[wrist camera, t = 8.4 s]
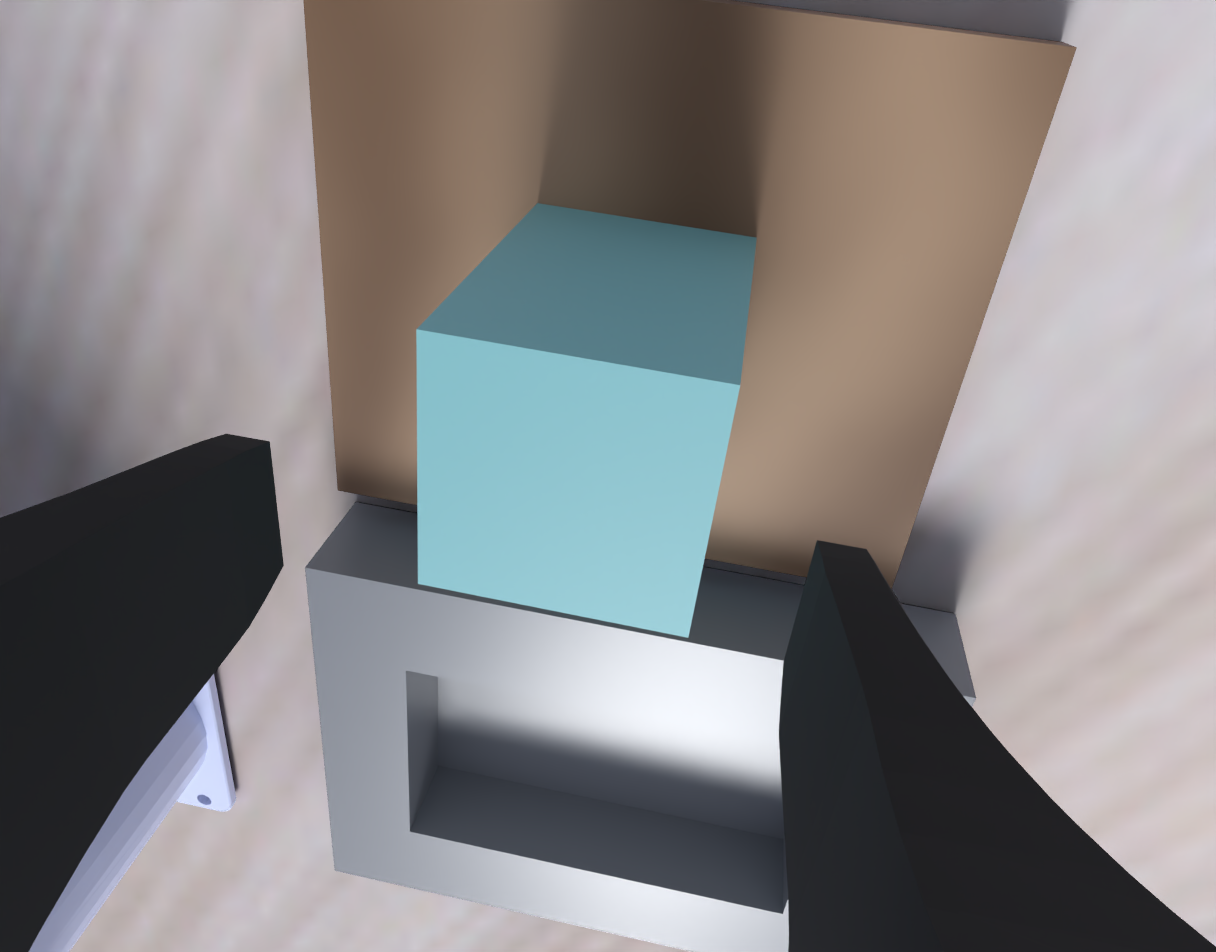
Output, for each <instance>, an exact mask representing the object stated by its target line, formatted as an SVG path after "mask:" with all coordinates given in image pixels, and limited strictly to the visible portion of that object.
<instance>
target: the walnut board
mask: <svg viewBox="0 0 1216 952" xmlns="http://www.w3.org/2000/svg"><path fill="white" fill-rule="evenodd" d="M304 14H305V28H306V43H307V57H308V71H309V86H310V100H311V114H312V128H313V143H314V157H315V171H316V186H317V200H318V214H319V229H320V243H321V257H322V271H323V286H324V300H325V314H326V329H327V343H328V357H329V372H330V386H331V400H332V415H333V429H334V443H335V457H336V472H337V486H338V491H344V492H349V493H354V494H360V495H365V496H371V497H376V498H381V499H387V500H392V501H398V502H403V503H408V504H414V505H417V345H416V329H417V328H418V327H419V326H420V325H421V324H422V323H423V322H424V321H425V320H426V319H427V318H428V317H429V316H430V315H431V314H432V313H433V311H434V310H435V309H436V308H437V307H438V306H439V305H440V304H441V303H442V302H443V301H444V300H445V299H446V298H447V297H448V296H449V295H450V294H451V293H452V292H453V291H454V290H455V289H456V287H457V286H458V285H459V284H460V283H461V282H462V281H463V280H464V279H465V278H466V277H467V276H468V275H469V274H470V273H471V272H472V271H473V270H474V269H475V268H476V267H477V266H478V265H479V263H480V262H481V261H482V260H483V259H484V258H485V257H486V256H487V255H488V254H489V253H490V252H491V251H492V250H493V249H494V248H495V247H496V246H497V245H498V244H499V243H500V242H501V241H502V239H503V238H504V237H505V236H506V235H507V234H508V233H509V232H510V231H511V230H512V229H513V228H514V227H515V226H516V225H517V224H518V223H519V222H520V221H521V220H522V219H523V218H524V217H525V215H526V214H527V213H528V212H529V211H530V210H531V209H532V208H533V207H534V206H535V205H536V204H537V203H540V204H546V205H552V206H559V207H565V208H571V209H578V210H584V211H591V212H597V213H603V214H610V215H616V216H622V217H629V218H635V219H641V220H648V221H654V222H660V223H667V224H673V225H679V226H686V227H692V228H698V229H705V230H711V231H717V232H724V233H730V234H736V235H743V236H749V237H756V238H757V240H756V249H755V258H754V267H753V276H752V285H751V294H750V303H749V312H748V321H747V330H746V339H745V347H744V356H743V365H742V374H741V383H740V389H739V394H738V399H737V404H736V408H735V413H734V418H733V423H732V428H731V433H730V438H729V442H728V447H727V452H726V457H725V462H724V467H723V472H722V476H721V481H720V486H719V491H718V496H717V501H716V506H715V510H714V515H713V520H712V525H711V530H710V535H709V540H708V544H707V549H706V554H705V559H710V560H716V561H721V562H727V563H732V564H737V565H743V566H748V567H754V568H759V569H764V570H770V571H775V572H781V573H786V574H791V575H797V576H802V577H807V575H808V571H809V567H810V564H811V560H812V556H813V553H814V549H815V546H816V542H817V540H819V541H825V542H830V543H836V544H842V545H847V546H853V547H858V548H864V549H867V551H868V552H869V553H870V555H871V556H872V558H873V560H874V561H875V563H876V564H877V566H878V568H879V569H880V571H881V573H882V574H883V576H884V578H885V579H886V581H887V583H888V584H889V586H890V588H891V589H892V586H893V583H894V580H895V577H896V574H897V571H898V568H899V566H900V563H901V560H902V557H903V554H904V551H905V548H906V545H907V542H908V539H909V536H910V533H911V530H912V528H913V525H914V522H915V519H916V516H917V513H918V510H919V507H920V504H921V501H922V498H923V495H924V492H925V490H926V487H927V484H928V481H929V478H930V475H931V472H932V469H933V466H934V463H935V460H936V457H937V454H938V451H939V449H940V446H941V443H942V440H943V437H944V434H945V431H946V428H947V425H948V422H949V419H950V416H951V413H952V411H953V408H954V405H955V402H956V399H957V396H958V393H959V390H960V387H961V384H962V381H963V378H964V375H965V373H966V370H967V367H968V364H969V361H970V358H971V355H972V352H973V349H974V346H975V343H976V340H977V337H978V335H979V332H980V329H981V326H982V323H983V320H984V317H985V314H986V311H987V308H988V305H989V302H990V299H991V297H992V294H993V291H994V288H995V285H996V282H997V279H998V276H999V273H1000V270H1001V267H1002V264H1003V261H1004V259H1005V256H1006V253H1007V250H1008V247H1009V244H1010V241H1011V238H1012V235H1013V232H1014V229H1015V226H1016V223H1017V221H1018V218H1019V215H1020V212H1021V209H1022V206H1023V203H1024V200H1025V197H1026V194H1027V191H1028V188H1029V185H1030V182H1031V180H1032V177H1033V174H1034V171H1035V168H1036V165H1037V162H1038V159H1039V156H1040V153H1041V150H1042V147H1043V144H1044V142H1045V139H1046V136H1047V133H1048V130H1049V127H1050V124H1051V121H1052V118H1053V115H1054V112H1055V109H1056V106H1057V104H1058V101H1059V98H1060V95H1061V92H1062V89H1063V86H1064V83H1065V80H1066V77H1067V74H1068V71H1069V68H1070V66H1071V63H1072V60H1073V57H1074V54H1075V51H1076V48H1077V47H1074V46H1071V45H1069V44H1066V43H1063V42H1059V41H1051V40H1043V39H1035V38H1027V37H1019V36H1011V35H1003V34H995V33H987V32H979V31H971V30H963V29H955V28H947V27H940V26H932V25H924V24H916V23H908V22H900V21H892V20H884V19H876V18H868V17H860V16H852V15H844V14H836V13H828V12H820V11H812V10H804V9H796V8H788V7H780V6H772V5H764V4H756V3H748V2H740V1H732V0H304Z"/></svg>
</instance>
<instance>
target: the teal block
mask: <svg viewBox="0 0 1216 952" xmlns="http://www.w3.org/2000/svg"><path fill="white" fill-rule="evenodd" d="M756 240H757V238H756V237H749V236H743V235H736V234H730V233H724V232H717V231H711V230H705V229H698V228H692V227H686V226H679V225H673V224H667V223H660V222H654V221H648V220H641V219H635V218H629V217H622V216H616V215H610V214H603V213H597V212H591V211H584V210H578V209H571V208H565V207H559V206H552V205H546V204H540V203H537V204H536V205H535V206H534V207H533V208H532V209H531V210H530V211H529V212H528V213H527V214H526V215H525V217H524V218H523V219H522V220H521V221H520V222H519V223H518V224H517V225H516V226H515V227H514V228H513V229H512V230H511V231H510V232H509V233H508V234H507V235H506V236H505V237H504V238H503V239H502V241H501V242H500V243H499V244H498V245H497V246H496V247H495V248H494V249H493V250H492V251H491V252H490V253H489V254H488V255H487V256H486V257H485V258H484V259H483V260H482V261H481V262H480V263H479V265H478V266H477V267H476V268H475V269H474V270H473V271H472V272H471V273H470V274H469V275H468V276H467V277H466V278H465V279H464V280H463V281H462V282H461V283H460V284H459V285H458V286H457V287H456V289H455V290H454V291H453V292H452V293H451V294H450V295H449V296H448V297H447V298H446V299H445V300H444V301H443V302H442V303H441V304H440V305H439V306H438V307H437V308H436V309H435V310H434V311H433V313H432V314H431V315H430V316H429V317H428V318H427V319H426V320H425V321H424V322H423V323H422V324H421V325H420V326H419V327H418V328H417V329H416V345H417V512H418V584H421V585H426V586H431V587H436V588H441V589H446V590H451V591H456V592H461V593H466V594H471V595H476V596H481V597H486V598H491V599H496V600H502V601H507V602H512V603H517V604H522V605H527V606H532V607H537V608H542V609H547V610H552V611H557V612H562V613H567V614H572V615H577V616H582V617H587V618H592V619H597V620H602V621H607V622H612V623H617V624H622V625H627V626H632V627H637V628H642V629H647V630H652V631H657V632H662V633H667V634H672V635H677V636H682V637H687V638H688V637H689V632H690V627H691V622H692V617H693V612H694V608H695V603H696V598H697V593H698V588H699V583H700V578H701V574H702V569H703V564H704V559H705V554H706V549H707V544H708V540H709V535H710V530H711V525H712V520H713V515H714V510H715V506H716V501H717V496H718V491H719V486H720V481H721V476H722V472H723V467H724V462H725V457H726V452H727V447H728V442H729V438H730V433H731V428H732V423H733V418H734V413H735V408H736V404H737V399H738V394H739V389H740V383H741V374H742V365H743V356H744V347H745V339H746V330H747V321H748V312H749V303H750V294H751V285H752V276H753V267H754V258H755V249H756Z"/></svg>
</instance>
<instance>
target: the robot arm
mask: <svg viewBox="0 0 1216 952" xmlns="http://www.w3.org/2000/svg"><path fill="white" fill-rule="evenodd" d="M283 566H284V565H283V556H282V547H281V538H280V529H279V521H278V512H277V503H276V494H275V485H274V476H273V467H272V458H271V449H270V442H269V441H263V440H258V439H252V438H247V437H241V436H236V435H230V434H224V435H221V436H217V437H214V438H210V439H207V440H204V441H201V442H199V443H196V444H193V445H190V446H188V447H185V448H182V449H180V450H177V451H174V452H172V453H169V454H167V455H164V456H162V457H159V458H156V459H154V460H151V461H149V462H146V463H144V464H141V465H139V466H136V467H134V468H131V469H129V470H126V471H124V472H121V473H119V474H116V475H114V476H111V477H109V478H106V479H104V480H101V481H99V482H96V483H94V484H91V485H89V486H86V487H84V488H81V489H78V490H76V491H73V492H71V493H68V494H65V495H63V496H60V497H57V498H54V499H52V500H49V501H46V502H43V503H41V504H38V505H35V506H32V507H29V508H27V509H24V510H21V511H18V512H16V513H13V514H10V515H7V516H4V517H2V518H0V952H70V950H71V949H72V947H73V946H74V945H75V943H76V942H77V940H78V939H79V938H80V936H81V935H82V933H83V932H84V931H85V929H86V928H87V926H88V925H89V924H90V922H91V921H92V919H93V918H94V916H95V915H96V914H97V912H98V911H99V909H100V908H101V907H102V905H103V904H104V902H105V901H106V900H107V898H108V897H109V895H110V894H111V893H112V891H113V890H114V888H115V887H116V886H117V884H118V883H119V881H120V880H121V879H122V877H123V876H124V874H125V873H126V872H127V870H128V869H129V867H130V866H131V865H132V863H133V862H134V860H135V859H136V858H137V856H138V855H139V853H140V852H141V850H142V849H143V848H144V846H145V845H146V843H147V842H148V841H149V839H150V838H151V836H152V835H153V834H154V832H155V831H156V829H157V828H158V827H159V825H160V824H161V822H162V821H163V820H164V818H165V817H166V815H167V814H168V813H169V811H170V810H171V808H172V807H173V806H174V804H175V803H176V802H181V803H185V804H190V805H194V806H199V807H203V808H208V809H212V810H217V811H228V810H230V809H231V808H232V806H233V805H234V803H235V801H236V794H235V788H234V783H233V777H232V772H231V766H230V761H229V755H228V749H227V744H226V738H225V733H224V727H223V722H222V716H221V710H220V705H219V699H218V694H217V688H216V683H215V677H214V673H215V671H216V670H217V669H218V667H219V666H220V665H221V663H222V662H223V661H224V659H225V658H226V657H227V656H228V654H229V653H230V652H231V650H232V649H233V648H234V646H235V645H236V644H237V642H238V641H239V640H240V638H241V637H242V636H243V634H244V633H245V632H246V630H247V629H248V628H249V626H250V624H251V623H252V621H253V619H254V618H255V616H256V614H257V613H258V611H259V609H260V607H261V606H262V604H263V602H264V601H265V599H266V597H267V595H268V593H269V592H270V590H271V588H272V586H273V584H274V582H275V580H276V579H277V577H278V575H279V573H280V571H281V569H282V567H283ZM779 748H780V767H781V785H782V802H783V819H784V835H785V852H786V869H787V885H788V912H789V947H788V952H1216V947H1215V946H1214V945H1213V944H1212V943H1210V942H1209V941H1208V940H1207V939H1206V938H1204V937H1203V936H1202V935H1201V934H1199V933H1198V932H1197V931H1196V930H1195V929H1193V928H1192V927H1191V926H1190V925H1188V924H1187V923H1186V922H1185V921H1184V920H1182V919H1181V918H1180V917H1179V916H1177V915H1176V914H1175V913H1174V912H1173V911H1171V910H1170V909H1169V908H1168V907H1167V906H1166V905H1164V904H1163V903H1162V902H1161V901H1160V900H1159V899H1158V898H1156V897H1155V896H1154V895H1153V894H1152V893H1151V892H1150V891H1148V890H1147V889H1146V888H1145V887H1144V886H1143V885H1142V884H1140V883H1139V882H1138V881H1137V880H1136V879H1135V878H1133V877H1132V876H1131V875H1130V874H1129V873H1128V872H1127V871H1126V870H1125V869H1124V868H1123V867H1122V866H1120V865H1119V864H1118V863H1117V862H1116V861H1115V860H1114V859H1113V858H1112V857H1111V856H1110V855H1109V854H1108V853H1107V852H1106V851H1105V850H1103V849H1102V848H1101V847H1100V846H1099V845H1098V844H1097V843H1096V842H1095V841H1094V840H1093V839H1092V838H1091V837H1090V836H1089V835H1088V834H1086V833H1085V832H1084V831H1083V830H1082V829H1081V828H1080V827H1079V826H1078V825H1077V824H1076V823H1075V822H1074V821H1073V820H1072V819H1071V818H1070V817H1069V816H1068V815H1067V814H1066V813H1065V812H1064V811H1063V810H1062V809H1061V808H1060V807H1059V806H1058V805H1057V804H1056V803H1055V802H1054V801H1053V800H1052V799H1051V798H1050V797H1049V796H1048V795H1047V794H1046V792H1045V791H1044V790H1043V789H1042V788H1041V787H1040V786H1039V785H1038V784H1037V783H1036V782H1035V780H1034V779H1033V778H1032V777H1031V776H1030V775H1029V774H1028V773H1027V772H1026V771H1025V770H1024V768H1023V767H1022V766H1021V765H1020V764H1019V763H1018V762H1017V761H1016V760H1015V759H1014V758H1013V756H1012V755H1011V754H1010V753H1009V752H1008V751H1007V750H1006V749H1005V747H1004V746H1003V745H1002V744H1001V743H1000V741H999V740H998V739H997V738H996V737H995V736H994V734H993V733H992V732H991V731H990V730H989V728H988V727H987V726H986V725H985V723H984V722H983V721H982V720H981V718H980V717H979V716H978V714H977V713H976V712H975V711H974V709H973V708H972V707H971V706H970V704H969V703H968V702H967V700H966V699H965V698H964V697H963V695H962V694H961V693H960V691H959V690H958V689H957V687H956V686H955V685H954V683H953V682H952V680H951V679H950V678H949V676H948V675H947V673H946V672H945V671H944V669H943V668H942V666H941V665H940V663H939V662H938V660H937V659H936V657H935V656H934V655H933V653H932V652H931V650H930V649H929V647H928V646H927V644H926V643H925V641H924V640H923V638H922V637H921V635H920V634H919V632H918V631H917V629H916V628H915V626H914V625H913V623H912V621H911V620H910V618H909V617H908V615H907V614H906V612H905V610H904V609H903V607H902V606H901V604H900V602H899V601H898V599H897V597H896V596H895V594H894V593H893V591H892V589H891V588H890V586H889V584H888V583H887V581H886V579H885V578H884V576H883V574H882V573H881V571H880V569H879V568H878V566H877V564H876V563H875V561H874V560H873V558H872V556H871V555H870V553H869V552H868V551H867V549H864V548H858V547H853V546H847V545H842V544H836V543H830V542H825V541H819V540H817V542H816V546H815V549H814V553H813V556H812V560H811V564H810V567H809V571H808V575H807V578H806V582H805V585H804V589H803V593H802V596H801V600H800V604H799V607H798V611H797V615H796V618H795V622H794V625H793V629H792V633H791V636H790V640H789V644H788V647H787V651H786V655H785V658H784V662H783V675H782V689H781V703H780V720H779Z"/></svg>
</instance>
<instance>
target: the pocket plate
mask: <svg viewBox="0 0 1216 952" xmlns="http://www.w3.org/2000/svg"><path fill="white" fill-rule="evenodd" d="M305 572H306V582H307V592H308V602H309V612H310V623H311V633H312V643H313V653H314V663H315V674H316V684H317V694H318V704H319V714H320V724H321V735H322V745H323V755H324V765H325V775H326V786H327V796H328V806H329V816H330V826H331V837H332V847H333V857H334V867H335V871H339V872H343V873H348V874H352V875H357V876H361V877H365V878H370V879H374V880H379V881H383V882H387V883H392V884H396V885H401V886H405V887H409V888H414V889H418V890H422V891H427V892H431V893H436V894H440V895H444V896H449V897H453V898H458V899H462V900H466V901H471V902H475V903H480V904H484V905H488V906H493V907H497V908H502V909H506V910H510V911H515V912H519V913H524V914H528V915H532V916H537V917H541V918H546V919H550V920H554V921H559V922H563V923H568V924H572V925H576V926H581V927H585V928H590V929H594V930H598V931H603V932H607V933H611V934H616V935H620V936H625V937H629V938H633V939H638V940H642V941H647V942H651V943H655V944H660V945H664V946H669V947H673V948H677V949H682V950H686V951H691V952H788V947H789V912H788V885H787V869H786V852H785V835H784V819H783V802H782V785H781V767H780V748H779V720H780V703H781V689H782V675H783V662H784V658H785V655H786V651H787V647H788V644H789V640H790V636H791V633H792V629H793V625H794V622H795V618H796V615H797V611H798V607H799V604H800V600H801V596H802V593H803V589H804V586H803V585H798V584H793V583H787V582H782V581H777V580H771V579H766V578H760V577H755V576H750V575H744V574H739V573H734V572H728V571H723V570H718V569H712V568H707V567H703V569H702V574H701V578H700V583H699V588H698V593H697V598H696V603H695V608H694V612H693V617H692V622H691V627H690V632H689V637H688V638H687V637H682V636H677V635H672V634H667V633H662V632H657V631H652V630H647V629H642V628H637V627H632V626H627V625H622V624H617V623H612V622H607V621H602V620H597V619H592V618H587V617H582V616H577V615H572V614H567V613H562V612H557V611H552V610H547V609H542V608H537V607H532V606H527V605H522V604H517V603H512V602H507V601H502V600H496V599H491V598H486V597H481V596H476V595H471V594H466V593H461V592H456V591H451V590H446V589H441V588H436V587H431V586H426V585H421V584H418V514H417V513H411V512H406V511H401V510H395V509H390V508H385V507H379V506H374V505H369V504H363V503H358V502H355V504H354V505H353V506H352V508H351V509H350V510H349V511H348V513H347V514H346V515H345V517H344V518H343V519H342V520H341V522H340V523H339V524H338V526H337V527H336V528H335V530H334V531H333V532H332V533H331V535H330V536H329V537H328V539H327V540H326V541H325V542H324V544H323V545H322V546H321V548H320V549H319V550H318V552H317V553H316V554H315V555H314V557H313V558H312V559H311V561H310V562H309V563H308V565H307V566H306V567H305ZM901 606H902V607H903V609H904V610H905V612H906V614H907V615H908V617H909V618H910V620H911V621H912V623H913V625H914V626H915V628H916V629H917V631H918V632H919V634H920V635H921V637H922V638H923V640H924V641H925V643H926V644H927V646H928V647H929V649H930V650H931V652H932V653H933V655H934V656H935V657H936V659H937V660H938V662H939V663H940V665H941V666H942V668H943V669H944V671H945V672H946V673H947V675H948V676H949V678H950V679H951V680H952V682H953V683H954V685H955V686H956V687H957V689H958V690H959V691H960V693H961V694H962V695H963V697H964V698H965V699H966V700H967V702H968V703H969V704H970V706H971V707H972V706H973V704H974V702H975V700H976V696H975V692H974V688H973V683H972V679H971V675H970V671H969V667H968V663H967V659H966V655H965V651H964V647H963V643H962V639H961V635H960V630H959V626H958V622H957V618H956V614H954V613H948V612H943V611H938V610H932V609H927V608H922V607H916V606H911V605H905V604H901Z"/></svg>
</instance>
